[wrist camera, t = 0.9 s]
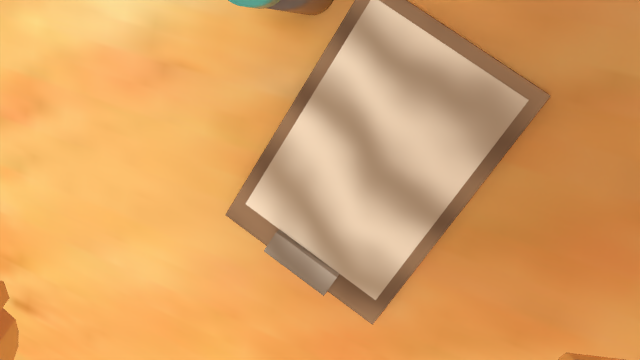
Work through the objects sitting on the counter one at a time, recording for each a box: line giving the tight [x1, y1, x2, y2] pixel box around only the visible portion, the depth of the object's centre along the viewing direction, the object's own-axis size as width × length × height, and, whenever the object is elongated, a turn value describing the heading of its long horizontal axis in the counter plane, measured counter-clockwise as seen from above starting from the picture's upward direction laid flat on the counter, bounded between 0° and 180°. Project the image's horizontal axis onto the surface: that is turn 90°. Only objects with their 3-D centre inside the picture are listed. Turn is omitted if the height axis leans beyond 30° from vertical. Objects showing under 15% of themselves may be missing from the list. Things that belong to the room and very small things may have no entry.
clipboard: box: [226, 0, 550, 325], centre depth 44 cm, size 22×15×2 cm
